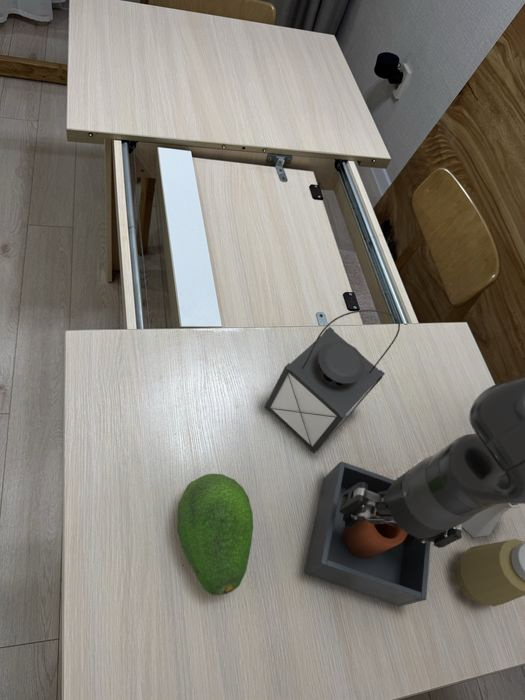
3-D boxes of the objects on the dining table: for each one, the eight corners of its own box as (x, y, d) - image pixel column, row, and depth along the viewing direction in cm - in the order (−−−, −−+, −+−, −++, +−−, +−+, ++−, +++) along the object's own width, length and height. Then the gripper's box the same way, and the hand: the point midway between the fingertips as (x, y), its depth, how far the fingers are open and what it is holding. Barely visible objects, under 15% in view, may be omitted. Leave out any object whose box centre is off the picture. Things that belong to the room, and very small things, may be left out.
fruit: (250, 596, 68) (267, 585, 60) (175, 602, 65) (182, 592, 57) (241, 484, 76) (255, 461, 67) (174, 486, 73) (180, 463, 65)
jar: (382, 525, 76) (410, 508, 69) (377, 564, 73) (406, 551, 66) (346, 512, 76) (370, 494, 69) (340, 551, 73) (364, 537, 65)
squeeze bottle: (437, 562, 76) (512, 534, 61) (476, 542, 79) (557, 512, 64) (466, 618, 72) (553, 604, 58) (507, 595, 76) (599, 576, 61)
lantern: (263, 406, 83) (315, 305, 60) (304, 368, 89) (366, 262, 66) (314, 454, 81) (388, 367, 58) (353, 411, 87) (435, 316, 64)
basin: (409, 508, 79) (434, 494, 73) (399, 606, 71) (426, 600, 65) (323, 478, 79) (341, 460, 73) (303, 573, 71) (321, 563, 64)
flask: (444, 502, 81) (479, 483, 73) (475, 485, 84) (513, 464, 76) (471, 545, 78) (512, 530, 70) (503, 526, 82) (545, 509, 73)
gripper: (494, 484, 59) (426, 519, 72) (380, 443, 59) (333, 486, 72) (494, 549, 55) (422, 574, 68) (371, 505, 54) (323, 539, 68)
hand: (376, 529), depth 70 cm, fingers open, 8 cm apart
